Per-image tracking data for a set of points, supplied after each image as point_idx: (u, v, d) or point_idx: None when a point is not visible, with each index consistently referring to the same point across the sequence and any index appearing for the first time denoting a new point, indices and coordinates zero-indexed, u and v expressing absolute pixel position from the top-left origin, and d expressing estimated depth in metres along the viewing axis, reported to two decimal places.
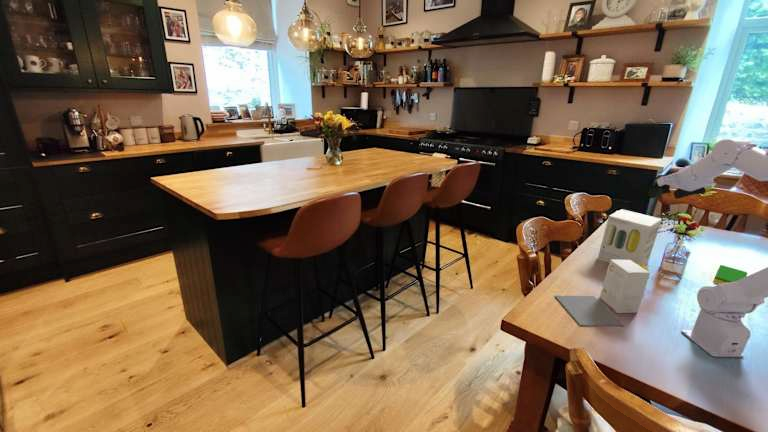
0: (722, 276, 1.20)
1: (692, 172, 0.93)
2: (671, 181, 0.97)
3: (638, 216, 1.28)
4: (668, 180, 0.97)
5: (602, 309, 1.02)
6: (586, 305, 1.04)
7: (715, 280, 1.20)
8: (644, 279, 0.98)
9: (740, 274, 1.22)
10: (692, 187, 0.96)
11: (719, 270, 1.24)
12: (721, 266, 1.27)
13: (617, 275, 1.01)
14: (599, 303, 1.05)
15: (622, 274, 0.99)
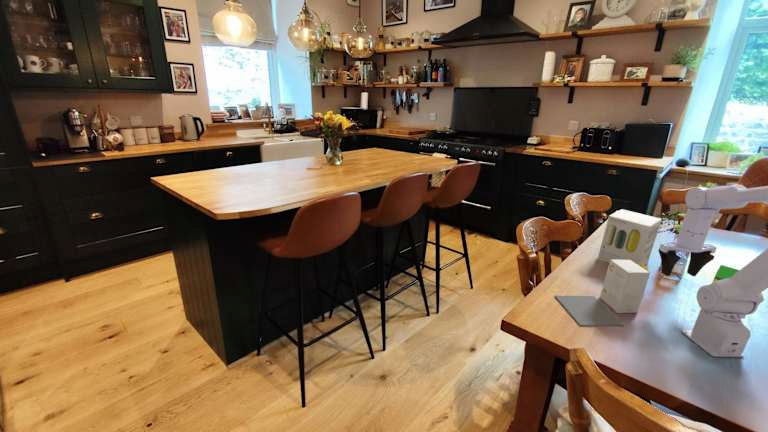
0: (722, 276, 1.20)
1: (685, 230, 0.97)
2: (673, 246, 0.98)
3: (638, 216, 1.28)
4: (669, 245, 0.99)
5: (602, 309, 1.02)
6: (586, 305, 1.04)
7: (715, 280, 1.20)
8: (644, 279, 0.98)
9: None
10: (696, 246, 0.96)
11: (719, 270, 1.24)
12: (721, 266, 1.27)
13: (617, 275, 1.01)
14: (599, 303, 1.05)
15: (622, 274, 0.99)
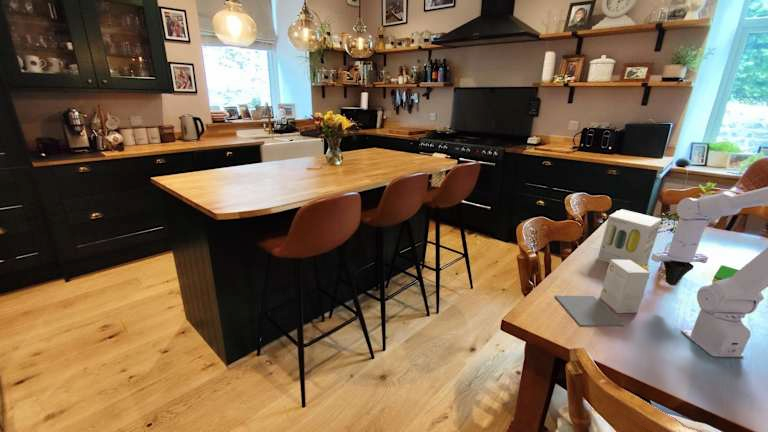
0: (721, 276, 1.20)
1: (676, 240, 0.98)
2: (665, 255, 0.99)
3: (638, 216, 1.28)
4: (661, 255, 1.00)
5: (602, 309, 1.02)
6: (586, 305, 1.04)
7: (714, 280, 1.20)
8: (644, 279, 0.98)
9: None
10: (687, 256, 0.97)
11: (719, 270, 1.24)
12: (722, 266, 1.27)
13: (617, 275, 1.01)
14: (599, 303, 1.05)
15: (622, 274, 0.99)
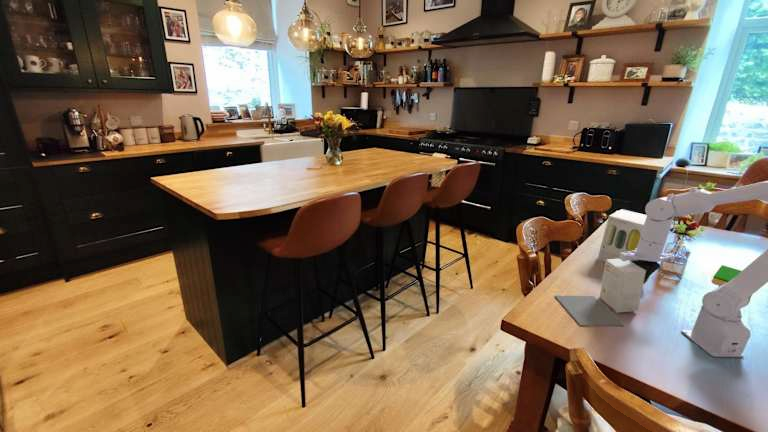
0: (721, 276, 1.20)
1: (643, 239, 0.98)
2: (632, 255, 0.99)
3: (638, 216, 1.28)
4: (628, 254, 0.99)
5: (602, 309, 1.02)
6: (586, 305, 1.04)
7: (714, 279, 1.20)
8: (640, 277, 0.98)
9: None
10: (654, 255, 0.97)
11: (719, 270, 1.24)
12: (722, 266, 1.27)
13: (613, 275, 1.01)
14: (599, 303, 1.05)
15: (618, 274, 0.99)
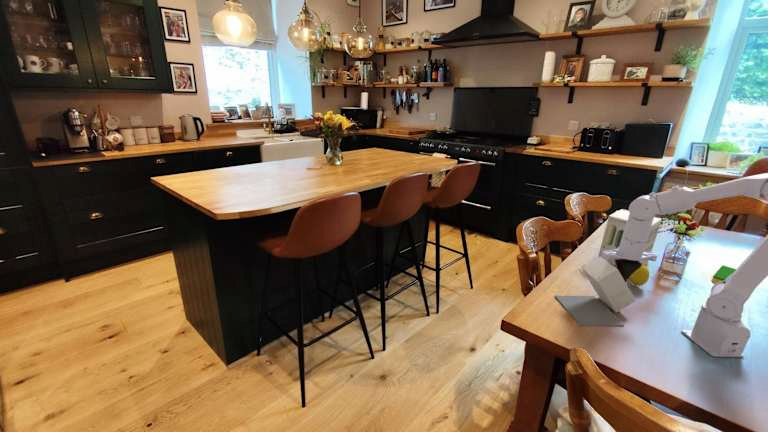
0: (721, 275, 1.20)
1: (625, 238, 0.97)
2: (614, 254, 0.99)
3: None
4: (610, 253, 0.99)
5: (602, 309, 1.02)
6: (586, 305, 1.04)
7: (713, 279, 1.20)
8: (617, 276, 0.97)
9: None
10: (635, 254, 0.96)
11: (719, 270, 1.24)
12: (723, 266, 1.27)
13: (594, 282, 1.01)
14: (599, 303, 1.05)
15: (595, 281, 1.00)
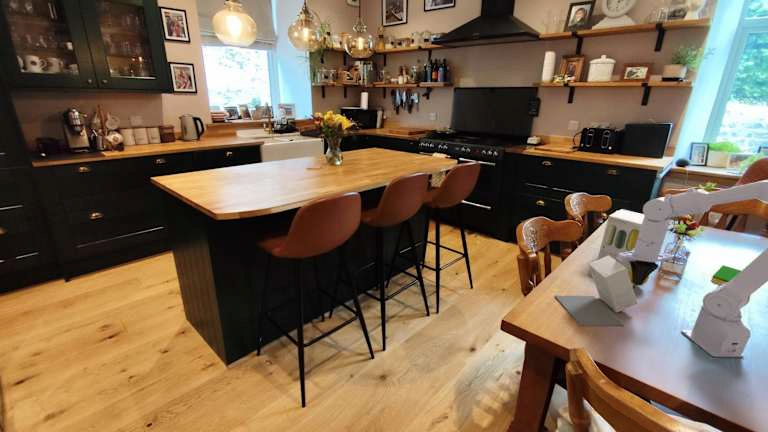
0: (720, 275, 1.20)
1: (641, 240, 0.97)
2: (630, 255, 0.99)
3: (638, 216, 1.28)
4: (626, 255, 0.99)
5: (602, 309, 1.02)
6: (586, 305, 1.04)
7: (713, 279, 1.20)
8: (624, 275, 0.97)
9: None
10: (652, 256, 0.97)
11: (719, 270, 1.24)
12: (723, 266, 1.27)
13: (599, 279, 1.01)
14: (599, 303, 1.05)
15: (602, 278, 0.99)
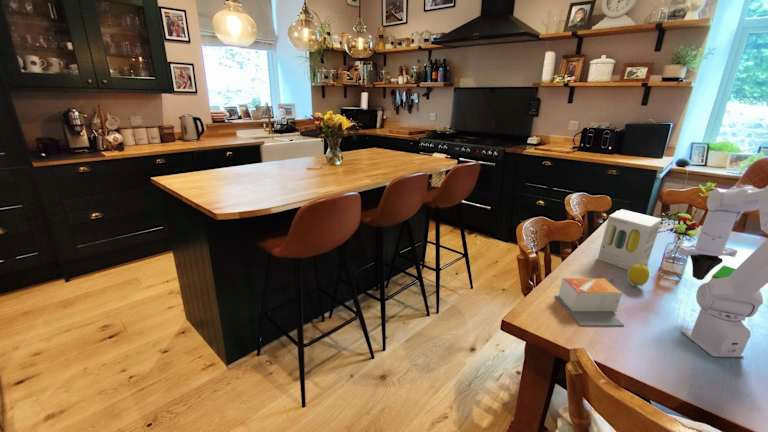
0: (720, 275, 1.21)
1: (705, 233, 0.95)
2: (693, 249, 0.97)
3: (638, 216, 1.28)
4: (689, 249, 0.97)
5: None
6: None
7: None
8: (583, 296, 0.99)
9: None
10: (717, 250, 0.94)
11: (719, 270, 1.24)
12: (723, 266, 1.27)
13: None
14: None
15: None
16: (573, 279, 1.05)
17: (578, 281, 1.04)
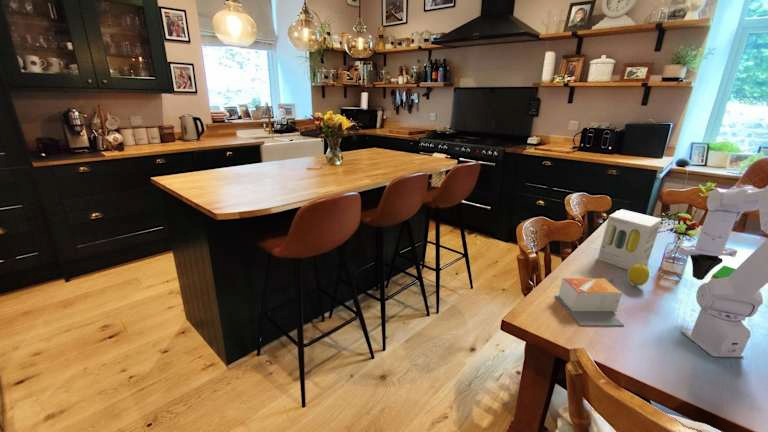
0: (720, 275, 1.21)
1: (705, 233, 0.95)
2: (693, 249, 0.97)
3: (638, 216, 1.28)
4: (689, 249, 0.97)
5: None
6: None
7: None
8: (583, 296, 0.99)
9: None
10: (717, 250, 0.94)
11: (719, 270, 1.24)
12: (724, 266, 1.27)
13: None
14: None
15: None
16: (573, 279, 1.05)
17: (578, 281, 1.04)
